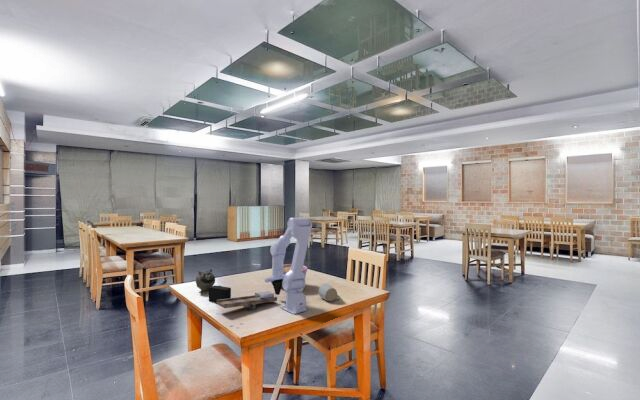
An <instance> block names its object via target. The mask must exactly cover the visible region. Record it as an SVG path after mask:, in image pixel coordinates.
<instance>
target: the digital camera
mask: <svg viewBox="0 0 640 400" xmlns="http://www.w3.org/2000/svg"><path fill="white" fill-rule="evenodd" d="M228 298H232V287H227V286H222V285H215V284H214V285H213V286H212V287H209V293H208V302H212V303H213V302H214V303H217V300H219V299H228Z"/></svg>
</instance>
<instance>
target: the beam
mask: <svg viewBox="0 0 640 400" xmlns="http://www.w3.org/2000/svg"><path fill="white" fill-rule="evenodd" d="M254 297H255V294H254V295H244V296H237V297H231V298H228V299H219V300H217V302H216V305H218V306H220V307H221V308H223V309H229V308H237V307H238V308H239V307H243V306H245V305H253V304H254V305H259V304H264V303H265V304H266V303H272V302H277V301H278V297H277V296H274V297H272V298H265V299H256V298H254Z"/></svg>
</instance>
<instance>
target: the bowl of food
mask: <svg viewBox="0 0 640 400" xmlns="http://www.w3.org/2000/svg"><path fill="white" fill-rule="evenodd" d="M291 265H292V263H286V264H284V266H283V274H286V273H287V272H289V271H290V270H291ZM302 272H303V273H304V274H305V276H306V275H307V272H308V267H307V266H306V265H304V264H303V268H302ZM282 288H283V286H282Z"/></svg>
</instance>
